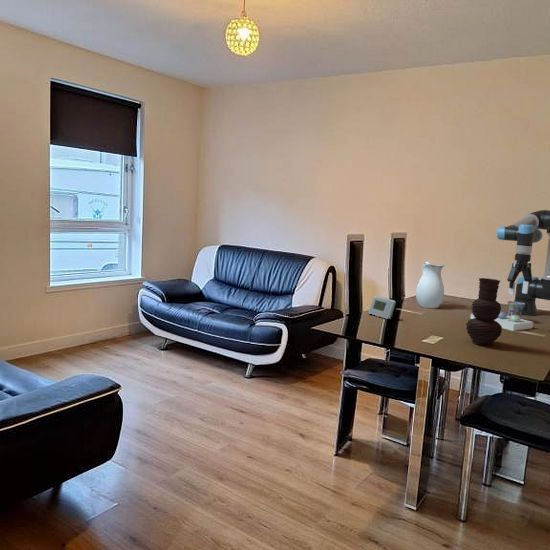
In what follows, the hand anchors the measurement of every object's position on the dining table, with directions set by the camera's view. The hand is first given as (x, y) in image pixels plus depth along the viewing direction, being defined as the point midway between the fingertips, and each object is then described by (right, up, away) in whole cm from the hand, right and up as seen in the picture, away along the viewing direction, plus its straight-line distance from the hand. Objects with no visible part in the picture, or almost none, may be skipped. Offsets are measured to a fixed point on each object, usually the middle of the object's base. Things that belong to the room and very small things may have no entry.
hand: (517, 293), depth 264 cm
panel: (-5, -17, +9) cm, 20 cm away
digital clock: (-72, -13, +8) cm, 74 cm away
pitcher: (-33, -10, +51) cm, 62 cm away
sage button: (-1, -16, +2) cm, 16 cm away
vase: (-35, -22, -37) cm, 55 cm away
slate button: (-5, -15, +9) cm, 18 cm away
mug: (+8, -16, +21) cm, 28 cm away
